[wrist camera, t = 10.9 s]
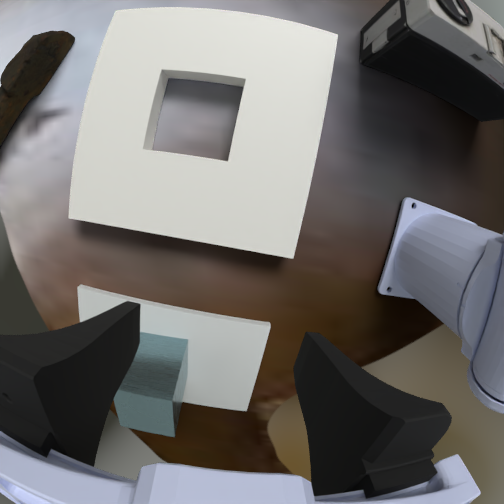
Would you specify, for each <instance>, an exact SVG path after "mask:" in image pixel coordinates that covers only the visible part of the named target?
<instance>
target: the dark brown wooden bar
mask: <svg viewBox="0 0 504 504" xmlns="http://www.w3.org/2000/svg"><path fill="white" fill-rule="evenodd" d="M74 40H75V37H74V36H72V35H71V34H69V33H68V32H65V31H49V32H45V33H41V34H38V35H33V36H32V37H31V39H30V40H28V41H27V42H26V43H25V44H24V46H23V47H22V49H21V50H20V51H19V52H18V53H17V54H16V55H15V57H14V58H13V59H12V60H11V61H10V62H9V63H8V65H7V66H6V68H5V70H4V71H3V73H2V76H1V79H0V81H1V87H0V147H1V144H2V142H3V141H4V139H5V138H6V136H7V134H8V132H9V130H10V129H11V127H12V126H13V124H14V122H15V121H16V119H17V118H18V116H19V115H20V113H21V112H22V110H23V109H24V107H25V106H26V104H27V103H28V101H29V100H31V99H32V98H33V97H34V96H37V95H39V94H40V93H41V92H42V90H43V89H44V87H45V86H46V85H47V83H48V82H49V80H50V79H51V77H52V76H53V74H54V73H55V71H56V70H57V68H58V66H59V65H60V63H61V62H62V60H63V58H64V57H65V55H66V54H67V52H68V50H69V49H70V47H71V45H72V44H73V42H74Z"/></svg>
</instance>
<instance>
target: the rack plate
mask: <svg viewBox="0 0 504 504" xmlns="http://www.w3.org/2000/svg"><path fill="white" fill-rule="evenodd" d="M337 38H338V35H337V34H334V33H331V32H328V31H324V30H321V29H318V28H314V27H311V26H307V25H303V24H299V23H295V22H291V21H287V20H282V19H278V18H273V17H268V16H262V15H256V14H250V13H244V12H236V11H228V10H218V9H205V8H182V7H162V8H139V9H126V10H116V11H115V14H114V16H113V18H112V21H111V23H110V25H109V28H108V30H107V33H106V36H105V38H104V41H103V44H102V47H101V49H100V52H99V55H98V58H97V61H96V64H95V68H94V71H93V74H92V78H91V81H90V85H89V88H88V92H87V96H86V100H85V104H84V108H83V113H82V117H81V122H80V127H79V132H78V138H77V144H76V150H75V156H74V164H73V171H72V180H71V190H70V202H69V218H71V219H76V220H82V221H87V222H93V223H98V224H104V225H109V226H115V227H121V228H126V229H132V230H137V231H143V232H148V233H154V234H159V235H165V236H170V237H176V238H181V239H187V240H193V241H198V242H204V243H209V244H215V245H220V246H226V247H231V248H237V249H242V250H248V251H253V252H259V253H264V254H270V255H275V256H281V257H286V258H292V259H293V257H294V253H295V249H296V245H297V241H298V237H299V232H300V228H301V224H302V220H303V215H304V211H305V207H306V202H307V198H308V193H309V189H310V184H311V179H312V175H313V170H314V165H315V161H316V156H317V151H318V146H319V141H320V136H321V131H322V126H323V120H324V115H325V110H326V104H327V99H328V93H329V88H330V82H331V76H332V70H333V64H334V58H335V51H336V45H337ZM168 78H174V79H186V80H197V81H205V82H213V83H221V84H227V85H234V86H240V87H244V90H243V94H242V98H241V103H240V107H239V112H238V116H237V121H236V125H235V130H234V135H233V140H232V144H231V149H230V154H229V159H228V162H227V161H222V160H216V159H210V158H204V157H197V156H191V155H184V154H176V153H169V152H161V151H153V150H152V149H153V143H154V138H155V133H156V129H157V124H158V119H159V115H160V110H161V106H162V102H163V98H164V94H165V90H166V86H167V82H168Z"/></svg>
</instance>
